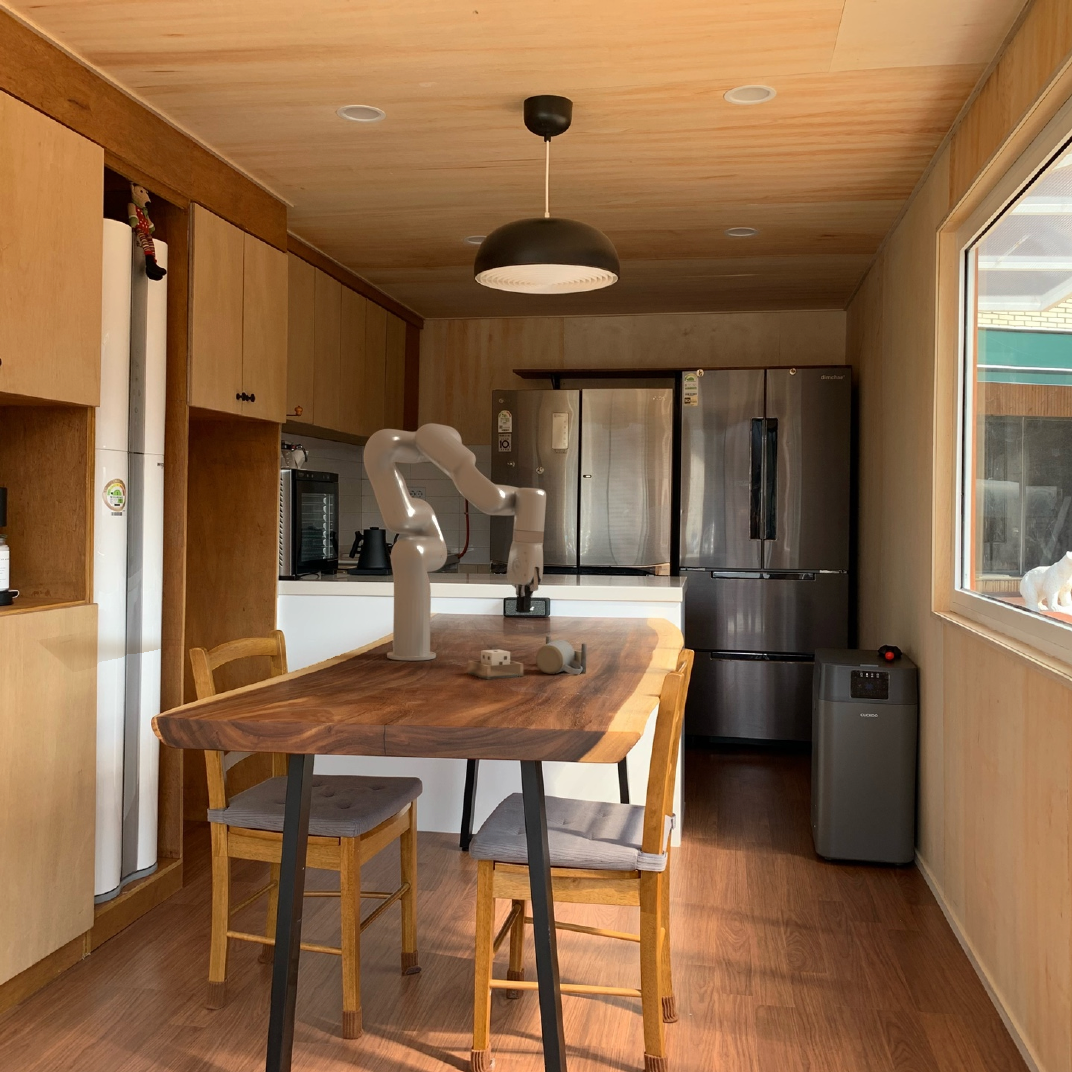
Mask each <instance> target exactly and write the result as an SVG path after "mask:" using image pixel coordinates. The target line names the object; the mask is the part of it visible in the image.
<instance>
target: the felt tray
mask: <svg viewBox="0 0 1072 1072" xmlns="http://www.w3.org/2000/svg"><path fill="white" fill-rule="evenodd" d="M466 667H467V669H466V670H467V671H466V674H467V673H468V674H467V675H471V676H475V677H477V676H478V678H481V679H485V680H496V679H497V680H498V679H508V678H509V679H510V677H511V678H521V677H520V676H523V677H524V663H523V662H519V661H514V660H510V664H504V665H490V666H488V665H485V664H481V659H479V660H478V659H475V660H467V664H466ZM518 676H519V677H518Z"/></svg>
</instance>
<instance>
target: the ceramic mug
mask: <svg viewBox="0 0 1072 1072" xmlns="http://www.w3.org/2000/svg"><path fill="white" fill-rule="evenodd" d="M574 650H575V649H574V647H573V646H572V645H571V644H570V643H569V642H568V641H566V639H560V638H557V639H553V640H552V641H551V642H550V643H548V644H546V643H545V644H544V645H542V646H541V647H540V649H538V651H537V652H536V658H535V661H536V665H537V667H538V669H539V670H540V671H541V672H542V673H545V674H547V673H548V675H555V673H556V674H558V673H562V672H565V673H568V674H571V675H573V674H579V673H581V671H582V669H583V668H582V666H581V665H580V664H579V663H578V662H576V661H575V652H574ZM571 666H572V667H574V668H575V669H574V668H571ZM581 674H582V673H581ZM579 675H580V674H579Z"/></svg>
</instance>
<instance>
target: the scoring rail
mask: <svg viewBox="0 0 1072 1072" xmlns="http://www.w3.org/2000/svg"><path fill="white" fill-rule="evenodd" d="M551 638H552V637H551V636H548V635H547V636H545V645H546V644H548V643H550V642H551V640H552V639H551ZM587 649H588V647H587V643H581V650H578V649H574V652H575V661H576V662H578V663H579V664H580V665H581V666H582V668H583V669H582V671H581V672H582V673H581V674H586V673H587ZM571 668H574V667H572V666H571ZM574 669H575V668H574ZM585 672H586V673H585Z"/></svg>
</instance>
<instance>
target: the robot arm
mask: <svg viewBox="0 0 1072 1072" xmlns="http://www.w3.org/2000/svg"><path fill="white" fill-rule="evenodd" d="M424 462H425V463H426V462H431V463H433V464H434V465H435V466H436V467H437V468H438V469H440V470H441V471H442V472H443V473H444V474H445V475H447V476H448V477H449V479H451V480H452V482H453V484H454V486H455V487H456V489H457V491H458V492H459V493H460V494H461V495H462V497H463V498H465V500H467V501H468V502H469V503H470V504H472V505H473V506H474V507H475V508H476V509H477V510H479V511H480V512H482V513H484V514H486V515H490V516H514V518H513V530H512V542H511V545H510V548H509V549H510V550H509V553H508V554H509V555H508V559H507V560H508V561H507V567H506V569H507V570H506V580H507V581H508V582H509V583H511V586H512V587H513V588H514V589H515V595H516V601H515V602H516V603H515V612H516V613H520V614H530V613H531V605H532V597H533V595H534V592H536V591H539V585H541V584H542V582H543V573H544V552H543V551H544V549H543V545H544V533H545V520H546V519H545V518H546V507H547V505H546V504H547V492H546V491H545V490H544V489H542V488H535V487H516V486H513V485H512V486H511V485H505V484H496V483H493V482H492V481H491V480H490V479H489V478H487V477H486V476H484V474H482V472H480V470H478V468H477V467H476V462H477V458H476V455H475V454H474V452H472V451H471V450H470V449H469V448H468V447H466V446H465V445H464V444H463V443H462V437H461V435H460V433H459V432H458V430H457V429H456V428H454V427H452V426H450V425H445V424H441V423H440V424H439V423H431V422H430V423H426V424H423V425H422V426H420V427H419V428H418V429H417V430H416V431H407V430H402V429H401V430H400V429H396V428H395V429H394V428H393V429H392V428H384V429H380V430H377V431H375V432H373V434H372V435H371V436H370V437H369V438H368V440H367V442H366V443H365V447H364V449H363V465H364V468H365V472H366V475H367V476H368V480H369V482H370V484H371V486H372V489H373V493H374V496H375V499H376V501H377V505H378V507H379V511H380V513H381V516H382V520H383V523H384V525H385V527H386V528H387V530H388V531H389V532H391V533H394V534H400V535H404V534H405V535H406V534H407V535H408V536H404V537H402V538H400V539H399V540H397V541H396V542H395V543H394V545H393V546H392V548H391V550H390V551H391V553H390V564H391V569H392V575H393V577H392V578H393V625H392V626H393V627H392V628H393V631H392V632H393V633H392V634H393V637H392V643H391V645H392V651H389V652H387V653H386V657H387V659H390V660H395V661H407V662H408V661H413V662H414V661H427V660H433V659H436V657H437V653H436V652H434V651H431V603H432V601H431V599H432V598H431V597H432V595H431V593H432V591H431V582H430V578H429V575H428V572H435V571H438V570H440V569H441V568H443V567H444V566H445V563H446V562H447V558H448V550H447V549H448V547H447V545H446V541H445V538H444V536H443V532H442V530H441V527H440V523H439V521H438V518H437V515H436V513H435V511H434V509H433V508H432V506H431V505H430V503H428V502H427V501H425V500H424V499H422V498H419V497H418V498H417V497H416V498H415V497H412V496H411V495H410V492H409V490H408V487H407V484H406V480H405V478H404V476H403V475H402V473H401V472H400V470H399V469H398V467H397V466H396V463H403V464H419V463H424Z"/></svg>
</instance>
